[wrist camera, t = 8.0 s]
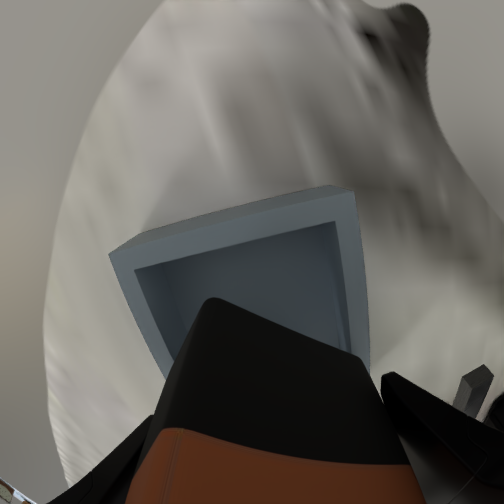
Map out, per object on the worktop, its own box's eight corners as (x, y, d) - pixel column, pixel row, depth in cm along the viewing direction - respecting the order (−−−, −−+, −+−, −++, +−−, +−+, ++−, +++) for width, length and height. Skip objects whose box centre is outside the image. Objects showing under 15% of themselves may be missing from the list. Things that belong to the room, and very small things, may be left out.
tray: (329, 184, 11) (353, 191, 8) (353, 385, 15) (368, 420, 12) (138, 233, 12) (108, 253, 9) (215, 412, 15) (210, 449, 12)
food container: (-2, 478, 44) (-9, 491, 34) (-5, 475, 42) (-12, 488, 33) (19, 494, 46) (12, 507, 36) (16, 491, 44) (10, 505, 34)
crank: (437, 474, 15) (456, 516, 9) (406, 488, 16) (421, 533, 10) (493, 357, 11) (547, 420, 5) (450, 382, 11) (502, 460, 5)
